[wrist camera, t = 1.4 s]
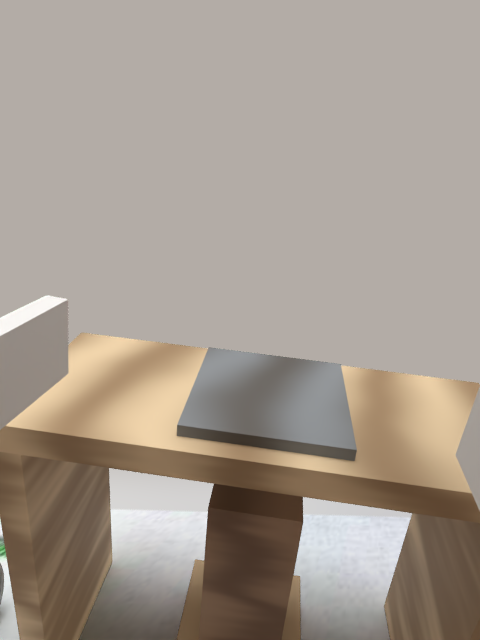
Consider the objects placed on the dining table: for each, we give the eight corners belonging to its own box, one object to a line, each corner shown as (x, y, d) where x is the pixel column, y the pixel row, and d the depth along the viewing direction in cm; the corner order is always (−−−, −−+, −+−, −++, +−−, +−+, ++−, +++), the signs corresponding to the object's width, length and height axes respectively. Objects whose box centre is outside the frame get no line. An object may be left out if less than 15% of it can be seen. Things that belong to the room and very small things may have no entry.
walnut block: (279, 591, 33) (302, 458, 28) (276, 665, 28) (303, 522, 24) (211, 580, 33) (222, 447, 29) (197, 652, 29) (208, 507, 24)
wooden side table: (403, 609, 36) (481, 374, 28) (440, 774, 27) (573, 495, 18) (94, 558, 38) (81, 324, 29) (29, 696, 28) (-17, 411, 20)
